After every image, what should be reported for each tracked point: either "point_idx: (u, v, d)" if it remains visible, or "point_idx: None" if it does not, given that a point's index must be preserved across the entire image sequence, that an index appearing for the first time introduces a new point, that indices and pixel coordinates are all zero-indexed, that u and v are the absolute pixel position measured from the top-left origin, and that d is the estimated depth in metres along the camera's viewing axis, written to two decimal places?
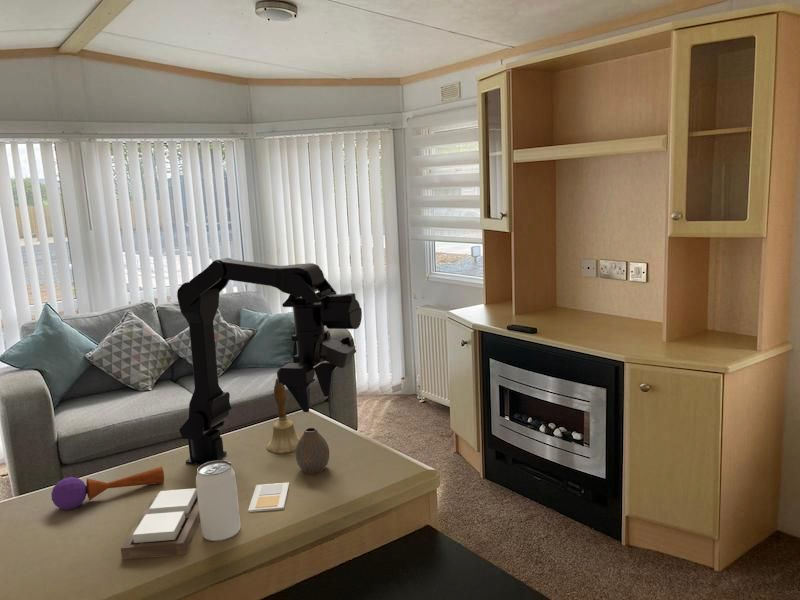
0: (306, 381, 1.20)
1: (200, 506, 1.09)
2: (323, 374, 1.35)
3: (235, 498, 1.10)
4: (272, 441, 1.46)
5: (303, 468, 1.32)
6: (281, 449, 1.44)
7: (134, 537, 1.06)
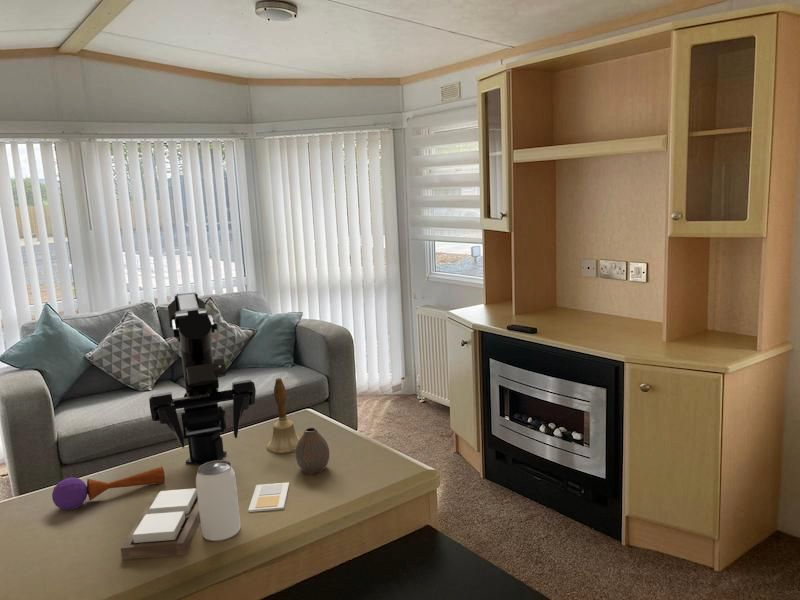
0: (152, 404, 1.16)
1: (200, 506, 1.09)
2: None
3: (235, 498, 1.10)
4: (272, 441, 1.46)
5: (303, 468, 1.32)
6: (281, 449, 1.44)
7: (134, 537, 1.06)
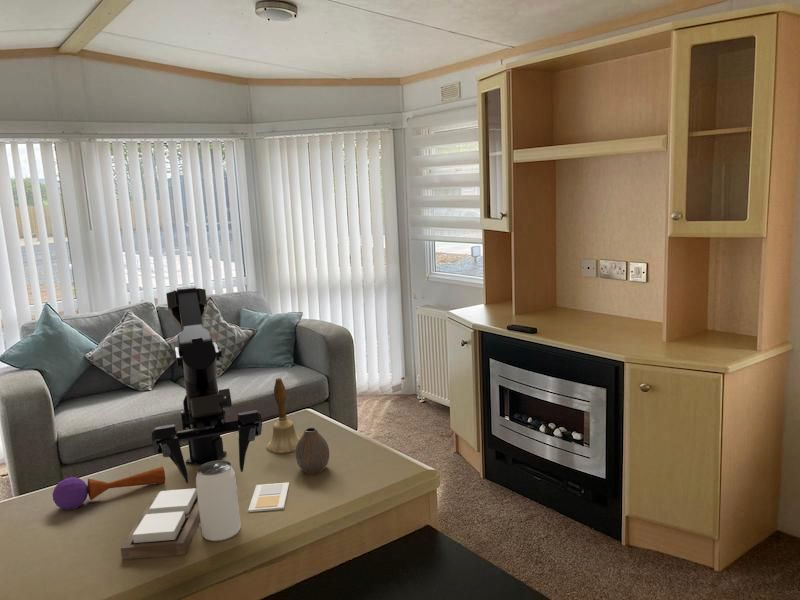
0: (155, 438, 1.11)
1: (200, 506, 1.09)
2: None
3: (235, 498, 1.10)
4: (272, 441, 1.46)
5: (303, 468, 1.32)
6: (281, 449, 1.44)
7: (134, 537, 1.06)
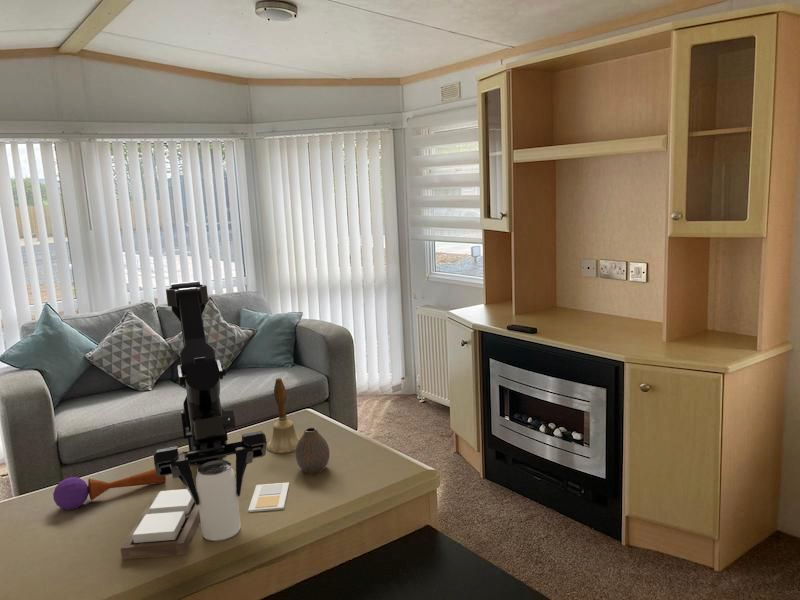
0: (157, 461, 1.08)
1: (200, 506, 1.09)
2: None
3: (235, 498, 1.10)
4: (272, 441, 1.46)
5: (303, 468, 1.32)
6: (281, 449, 1.44)
7: (134, 537, 1.06)
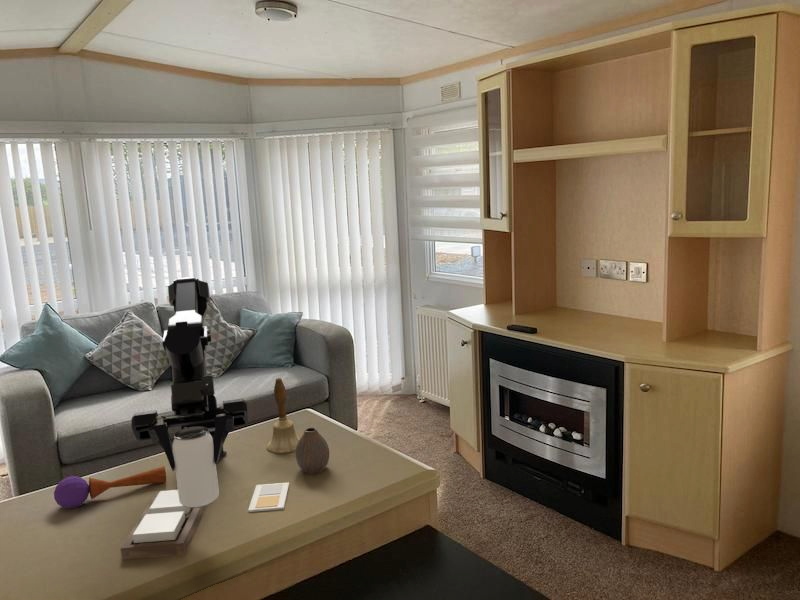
0: (134, 424, 1.07)
1: (176, 471, 1.07)
2: None
3: (212, 465, 1.08)
4: (272, 441, 1.46)
5: (303, 468, 1.32)
6: (281, 449, 1.44)
7: (134, 537, 1.06)
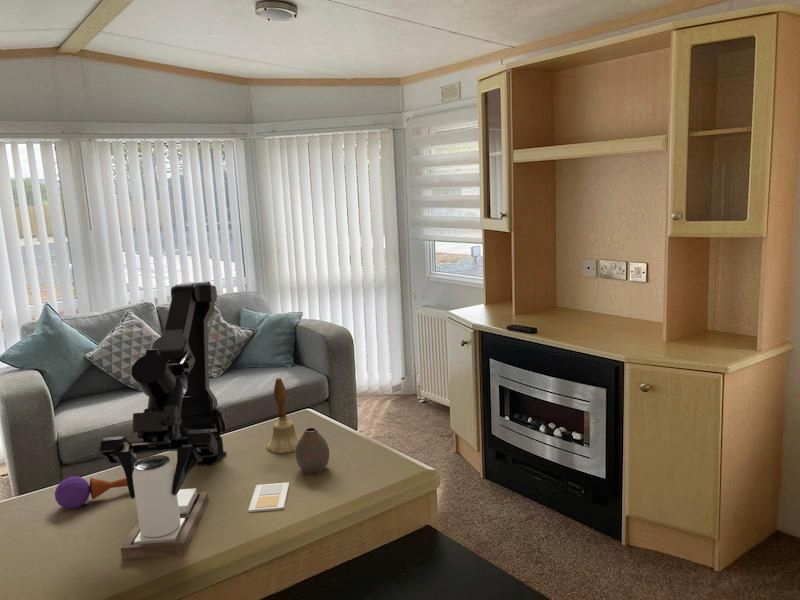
0: (100, 449, 1.09)
1: None
2: None
3: (169, 497, 1.07)
4: (272, 441, 1.46)
5: (303, 468, 1.32)
6: (281, 449, 1.44)
7: (135, 544, 1.06)
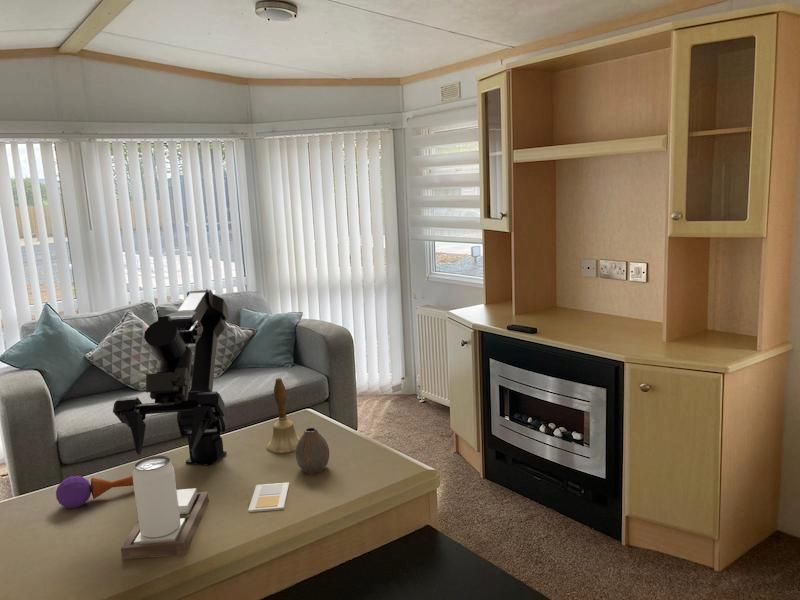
0: (115, 408, 1.16)
1: None
2: None
3: (170, 497, 1.07)
4: (272, 441, 1.46)
5: (303, 468, 1.32)
6: (281, 449, 1.44)
7: (135, 544, 1.06)
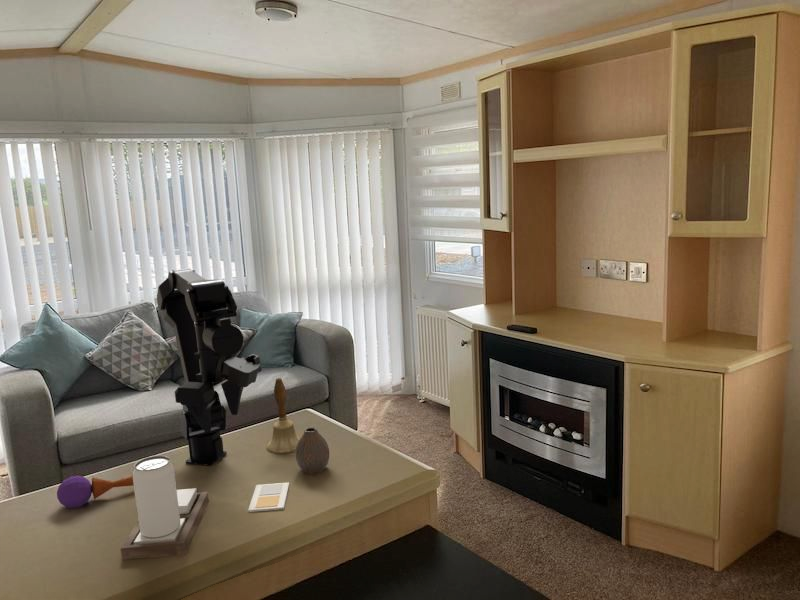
0: (203, 401, 1.17)
1: None
2: (231, 392, 1.31)
3: (170, 497, 1.07)
4: (272, 441, 1.46)
5: (303, 468, 1.32)
6: (281, 449, 1.44)
7: (135, 544, 1.06)
